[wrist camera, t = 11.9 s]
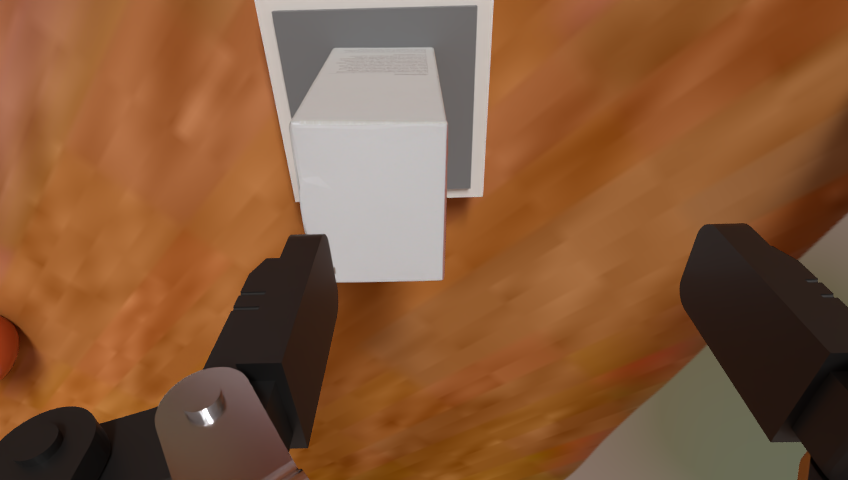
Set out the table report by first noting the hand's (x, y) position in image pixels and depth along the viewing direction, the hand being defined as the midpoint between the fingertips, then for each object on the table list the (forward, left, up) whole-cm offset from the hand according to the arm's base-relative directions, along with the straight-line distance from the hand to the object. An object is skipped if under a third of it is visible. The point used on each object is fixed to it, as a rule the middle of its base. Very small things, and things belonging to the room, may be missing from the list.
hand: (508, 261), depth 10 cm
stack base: (+4, +4, -26) cm, 27 cm away
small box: (+4, +4, -22) cm, 23 cm away
